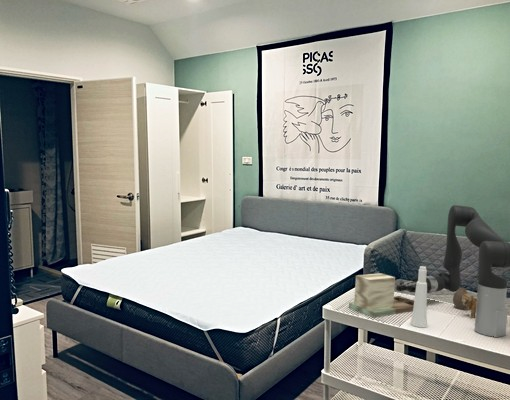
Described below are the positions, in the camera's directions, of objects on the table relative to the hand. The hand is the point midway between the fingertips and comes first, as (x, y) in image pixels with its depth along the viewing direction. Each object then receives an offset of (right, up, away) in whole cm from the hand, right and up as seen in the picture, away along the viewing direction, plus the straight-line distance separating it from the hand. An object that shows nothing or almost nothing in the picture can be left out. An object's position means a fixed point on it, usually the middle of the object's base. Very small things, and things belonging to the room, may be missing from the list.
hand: (397, 288), depth 187 cm
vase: (+28, -10, +4) cm, 30 cm away
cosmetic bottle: (+1, -9, -22) cm, 24 cm away
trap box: (-5, -8, -2) cm, 10 cm away
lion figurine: (+29, -10, -11) cm, 32 cm away
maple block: (-12, -6, -6) cm, 15 cm away
